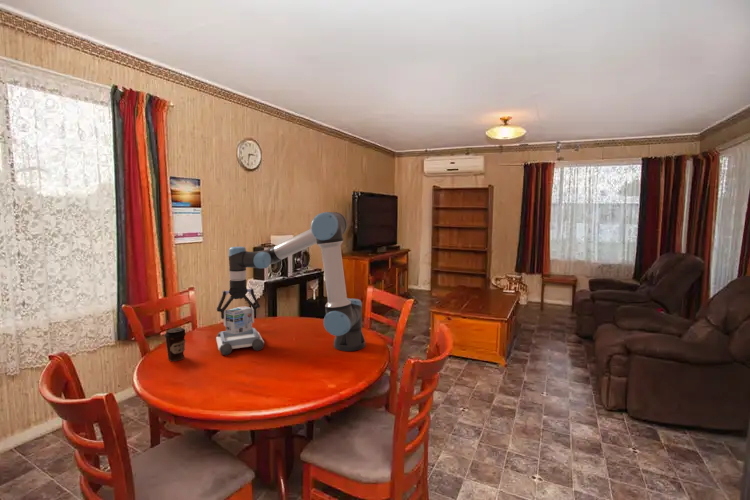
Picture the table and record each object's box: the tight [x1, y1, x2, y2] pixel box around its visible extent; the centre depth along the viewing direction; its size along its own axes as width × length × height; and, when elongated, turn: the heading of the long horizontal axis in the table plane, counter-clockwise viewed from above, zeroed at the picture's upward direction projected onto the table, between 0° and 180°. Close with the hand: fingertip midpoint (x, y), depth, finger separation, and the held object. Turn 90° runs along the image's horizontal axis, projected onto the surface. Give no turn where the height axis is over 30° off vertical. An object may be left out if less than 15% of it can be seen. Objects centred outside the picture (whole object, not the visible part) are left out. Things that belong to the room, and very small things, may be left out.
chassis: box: [215, 327, 265, 356], centre depth 187 cm, size 21×20×6 cm
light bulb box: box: [225, 305, 253, 334], centre depth 186 cm, size 11×7×11 cm, turn 148°
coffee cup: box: [164, 327, 186, 362], centre depth 170 cm, size 9×8×13 cm
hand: (239, 323), depth 187 cm, fingers closed on light bulb box, 12 cm apart
